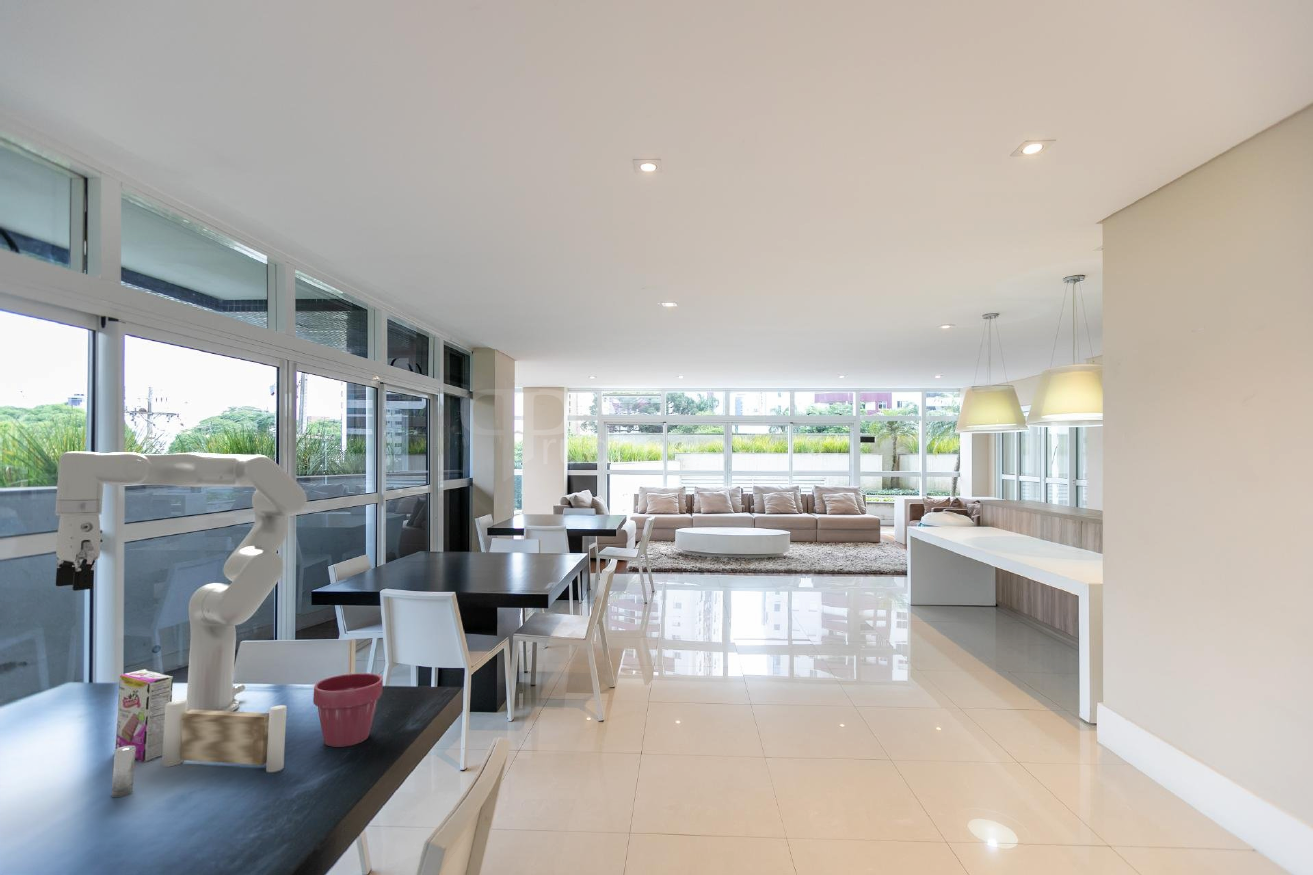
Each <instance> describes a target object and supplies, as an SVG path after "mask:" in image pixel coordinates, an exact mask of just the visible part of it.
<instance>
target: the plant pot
mask: <svg viewBox="0 0 1313 875" xmlns="http://www.w3.org/2000/svg"><path fill="white" fill-rule="evenodd" d="M383 680H384V678H383V676H381V675H380V674H376V673H367V672H366V673H359V672H358V673H347V674H339V675H334V676H331V677H327V678H324V679H322V680H320V681H318V682H316V683H315V685H314V687H313V699H312V700H313V701H312V703H313V704H314V706H316V707H317V710H318V716H319V724H320V727H321V732H322V733H321V734H322V738H323V742H324V744H325V745H326V746H329V747H335V748H337V747H338V748H339V747H340V748H342V747H349V746H354V745H357V744H359V743H363V742H364V741H366V740H367V739H368V738H369V735H370V732H371V729H372V728H371V727H372V725H373V720H374V717H375V712H376V708H377V705H378V704H377V703H378V699H380V698H381V697H382V695H383V687H384V686H383V685H384V684H383V683H384V681H383Z"/></svg>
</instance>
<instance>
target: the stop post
mask: <svg viewBox="0 0 1313 875" xmlns="http://www.w3.org/2000/svg"><path fill="white" fill-rule="evenodd" d="M115 749H116V748H115ZM135 750H136V746H133V745H130V746H124V747H120V748H118V749H116V750H114V755H113V771H112V785H111V786H112V787H111V797H112V798H120V797H121V798H122V797H125V796H128V795H131V794H132V793H133V790H134V779H135V778H134V777H135V776H134V775H135V761H136V759H135ZM131 792H132V793H131Z"/></svg>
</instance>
